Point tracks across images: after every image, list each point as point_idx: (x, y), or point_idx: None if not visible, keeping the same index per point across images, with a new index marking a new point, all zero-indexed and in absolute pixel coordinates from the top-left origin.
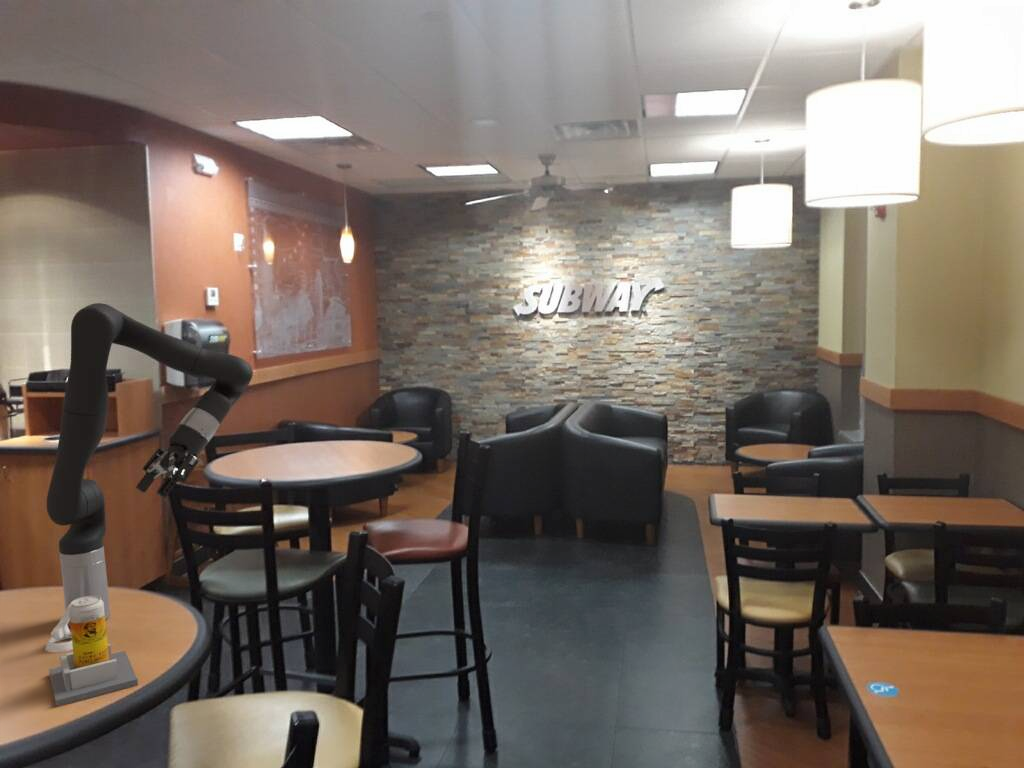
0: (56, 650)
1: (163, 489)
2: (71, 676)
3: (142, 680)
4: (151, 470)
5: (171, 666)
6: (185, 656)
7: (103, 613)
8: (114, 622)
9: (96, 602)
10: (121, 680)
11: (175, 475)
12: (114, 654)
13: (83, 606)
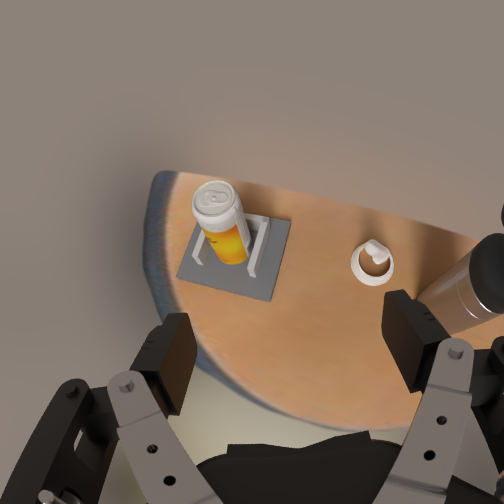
0: (356, 248)
1: (156, 334)
2: None
3: (184, 286)
4: (430, 373)
5: None
6: (201, 351)
7: (202, 226)
8: None
9: (193, 206)
10: (187, 263)
11: (77, 383)
12: (269, 286)
13: (196, 191)
